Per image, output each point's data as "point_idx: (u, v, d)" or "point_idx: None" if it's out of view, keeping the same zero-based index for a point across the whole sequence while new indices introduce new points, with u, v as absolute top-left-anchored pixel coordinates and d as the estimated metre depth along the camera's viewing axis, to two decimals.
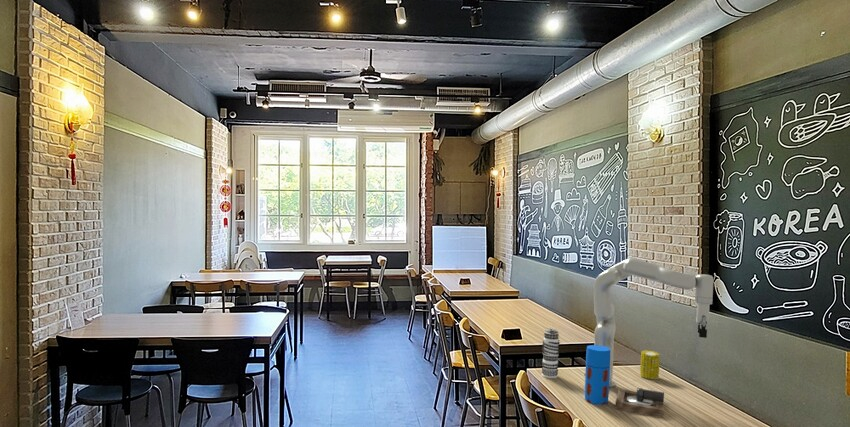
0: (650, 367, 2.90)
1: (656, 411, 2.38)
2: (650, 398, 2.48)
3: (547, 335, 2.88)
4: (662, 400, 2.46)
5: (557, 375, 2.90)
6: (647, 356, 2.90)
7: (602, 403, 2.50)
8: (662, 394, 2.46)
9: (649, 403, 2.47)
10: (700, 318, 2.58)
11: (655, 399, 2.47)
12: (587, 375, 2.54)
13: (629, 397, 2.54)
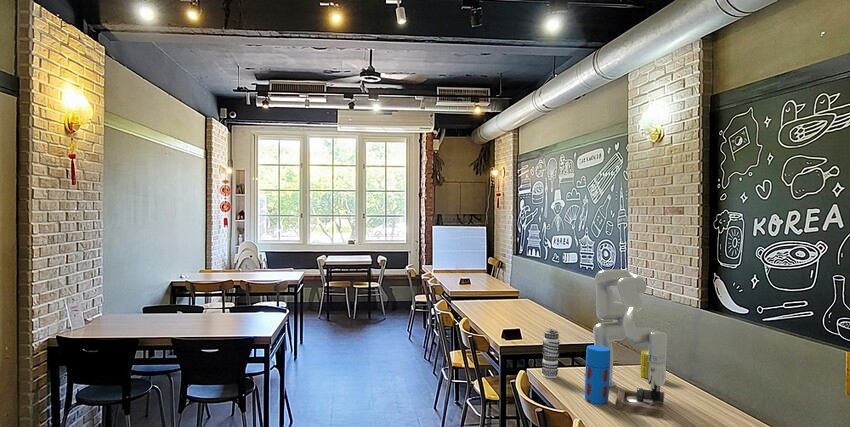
0: None
1: (656, 411, 2.38)
2: (650, 398, 2.48)
3: (547, 335, 2.88)
4: (662, 400, 2.46)
5: (557, 375, 2.90)
6: (647, 356, 2.90)
7: (602, 403, 2.50)
8: (662, 394, 2.46)
9: (649, 403, 2.47)
10: None
11: None
12: (587, 375, 2.54)
13: (629, 397, 2.53)
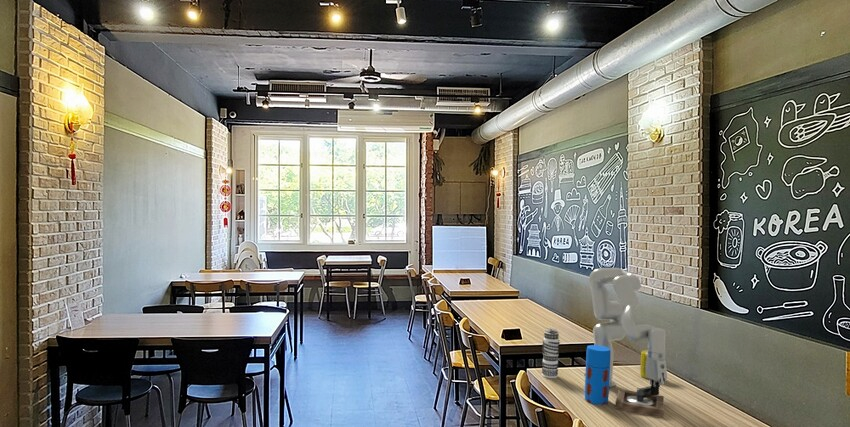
0: None
1: (656, 411, 2.38)
2: (647, 395, 2.52)
3: (547, 335, 2.88)
4: None
5: (557, 375, 2.90)
6: None
7: (602, 403, 2.50)
8: None
9: (650, 400, 2.51)
10: None
11: (650, 394, 2.53)
12: (587, 375, 2.54)
13: (631, 400, 2.49)
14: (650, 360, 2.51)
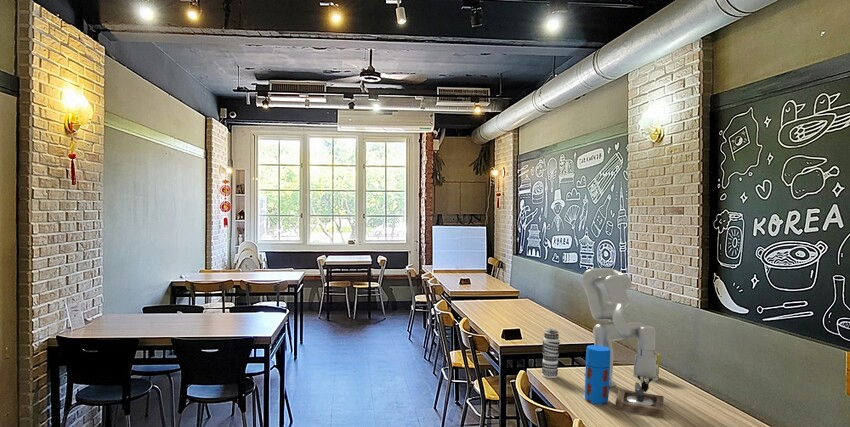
0: None
1: (656, 411, 2.38)
2: None
3: (547, 335, 2.88)
4: None
5: (557, 375, 2.90)
6: None
7: (602, 403, 2.50)
8: None
9: (644, 397, 2.54)
10: None
11: None
12: (587, 375, 2.54)
13: (638, 403, 2.46)
14: (643, 358, 2.54)
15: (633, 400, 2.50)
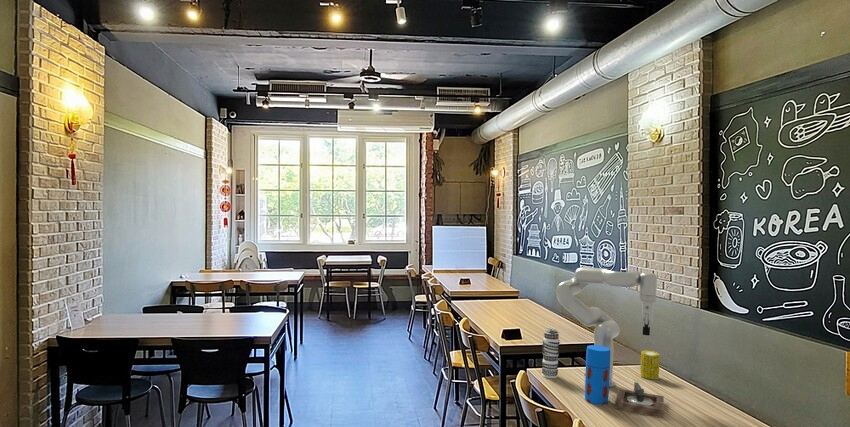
0: (650, 367, 2.90)
1: (656, 411, 2.38)
2: None
3: (547, 335, 2.88)
4: None
5: (557, 375, 2.90)
6: (647, 356, 2.90)
7: (602, 403, 2.50)
8: None
9: (643, 397, 2.54)
10: None
11: None
12: (587, 375, 2.54)
13: (639, 403, 2.46)
14: None
15: (633, 400, 2.50)
